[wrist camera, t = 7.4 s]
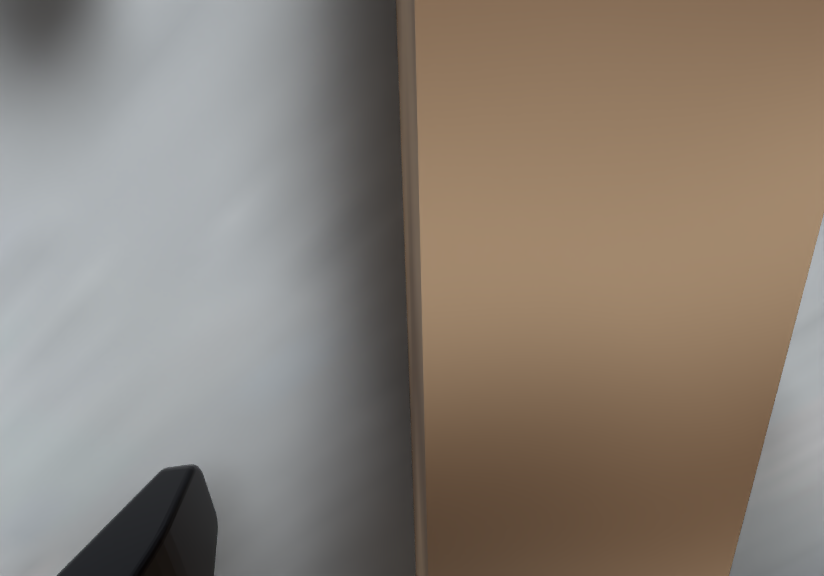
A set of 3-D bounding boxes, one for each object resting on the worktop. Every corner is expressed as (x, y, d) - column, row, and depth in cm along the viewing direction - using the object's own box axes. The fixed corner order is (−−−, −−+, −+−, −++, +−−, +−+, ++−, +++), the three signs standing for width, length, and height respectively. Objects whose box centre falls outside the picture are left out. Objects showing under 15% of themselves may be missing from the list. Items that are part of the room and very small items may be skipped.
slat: (585, 645, 15) (651, 869, 12) (418, 657, 15) (435, 888, 12) (718, -343, 8) (1021, -540, 4) (382, -336, 8) (402, -536, 4)
